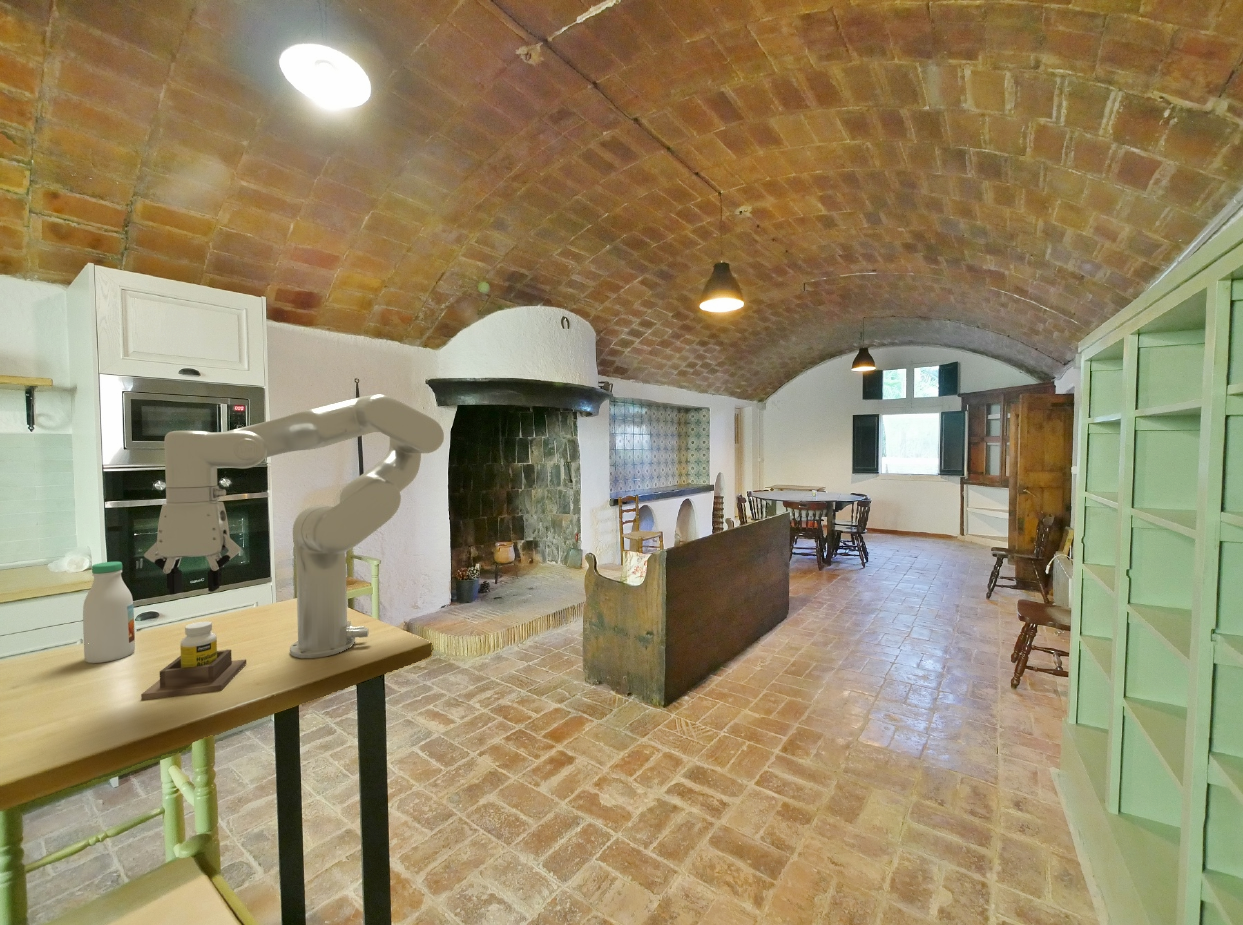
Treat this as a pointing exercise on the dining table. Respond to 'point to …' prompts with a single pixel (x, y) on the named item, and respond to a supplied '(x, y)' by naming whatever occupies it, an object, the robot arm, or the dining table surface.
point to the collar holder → (195, 677)
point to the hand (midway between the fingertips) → (195, 590)
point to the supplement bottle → (198, 645)
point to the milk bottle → (108, 616)
